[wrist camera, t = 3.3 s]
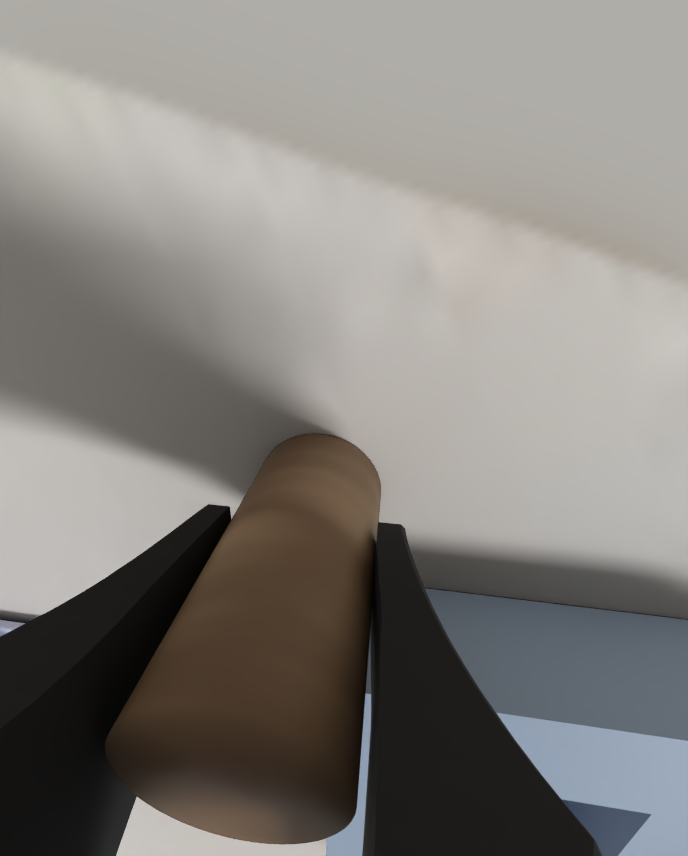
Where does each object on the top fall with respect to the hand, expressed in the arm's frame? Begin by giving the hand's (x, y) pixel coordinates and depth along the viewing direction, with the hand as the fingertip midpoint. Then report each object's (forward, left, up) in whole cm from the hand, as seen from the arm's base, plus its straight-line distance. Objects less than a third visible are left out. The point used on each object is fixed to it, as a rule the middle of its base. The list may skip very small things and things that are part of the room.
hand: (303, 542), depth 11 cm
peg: (0, 0, -3) cm, 3 cm away
